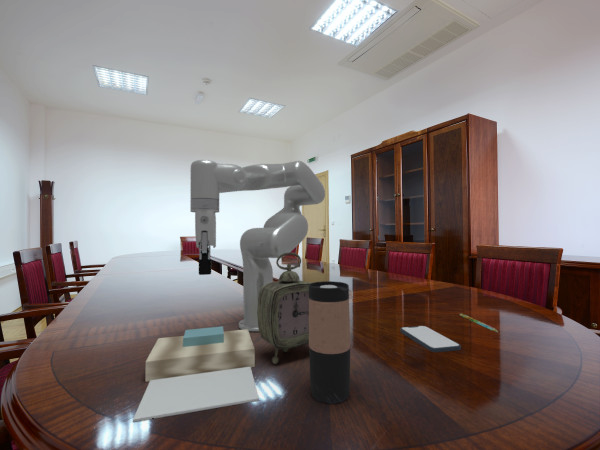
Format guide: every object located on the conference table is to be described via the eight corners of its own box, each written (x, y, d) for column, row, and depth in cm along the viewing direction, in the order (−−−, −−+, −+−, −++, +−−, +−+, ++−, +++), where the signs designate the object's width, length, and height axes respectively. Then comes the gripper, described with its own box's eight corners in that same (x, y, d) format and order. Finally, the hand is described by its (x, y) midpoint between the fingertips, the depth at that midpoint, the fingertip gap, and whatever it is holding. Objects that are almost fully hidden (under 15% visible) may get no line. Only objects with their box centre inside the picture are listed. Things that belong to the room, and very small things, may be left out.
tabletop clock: (271, 369, 64) (270, 254, 64) (254, 355, 71) (253, 252, 72) (324, 354, 71) (322, 252, 72) (304, 342, 79) (302, 250, 80)
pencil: (500, 334, 85) (462, 316, 103) (500, 330, 85) (462, 313, 103) (496, 334, 85) (459, 316, 103) (496, 330, 85) (459, 313, 103)
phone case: (463, 352, 73) (425, 330, 89) (463, 345, 73) (425, 325, 89) (432, 355, 71) (398, 332, 87) (432, 348, 71) (398, 327, 87)
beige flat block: (247, 344, 78) (247, 329, 78) (254, 366, 65) (254, 348, 65) (158, 354, 72) (158, 338, 72) (145, 381, 59) (145, 361, 59)
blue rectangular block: (223, 334, 75) (223, 326, 75) (223, 342, 69) (223, 333, 69) (185, 338, 72) (185, 329, 72) (183, 347, 66) (183, 338, 66)
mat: (250, 368, 64) (250, 366, 64) (258, 400, 52) (258, 398, 52) (150, 382, 59) (150, 380, 59) (132, 422, 46) (132, 419, 46)
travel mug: (307, 383, 57) (306, 281, 58) (345, 381, 58) (343, 280, 59) (312, 406, 50) (310, 288, 50) (356, 403, 50) (354, 287, 51)
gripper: (219, 204, 73) (219, 277, 73) (219, 209, 88) (219, 270, 87) (187, 203, 71) (187, 279, 70) (192, 208, 85) (192, 271, 85)
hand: (205, 274), depth 79 cm, fingers closed
